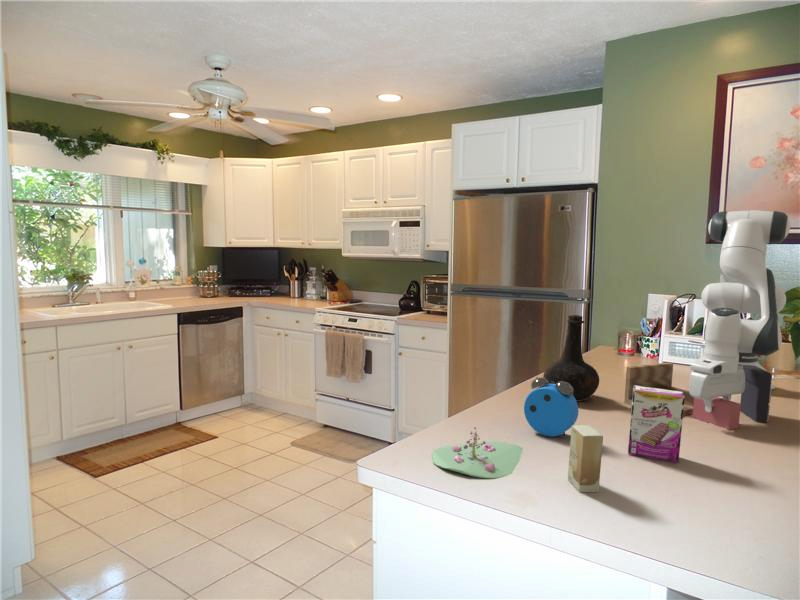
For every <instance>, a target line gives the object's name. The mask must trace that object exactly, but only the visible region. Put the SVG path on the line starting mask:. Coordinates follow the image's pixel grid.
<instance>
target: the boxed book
mask: <svg viewBox="0 0 800 600" xmlns="http://www.w3.org/2000/svg"><path fill="white" fill-rule="evenodd" d="M711 402H712V406H714V411H713V412H707V411H705V404H704V401H703V399H698V398H694V404H693V414H692V418H693V419H696V420H699V421H702V422H706V423H708V424H710V423H711V425H713V424H714V426H716V425H717V427H719V426H720V428H722V427H723V428H722V429H725V428H726V429H725V430H728V429H729V430H733V428H734V429H739V427H740V419H741V418H740V417H741V411H740V408H741V404H740V402H736V401H732V400H730V401H729V400H725V399H722V397H714V398H713V401H711Z"/></svg>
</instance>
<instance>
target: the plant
mask: <svg viewBox="0 0 800 600" xmlns="http://www.w3.org/2000/svg"><path fill="white" fill-rule="evenodd" d="M473 429H474V431H475V432H473V430H471V431H470V435H471V437H472V438H470V439H469V440H467V441H465V443H459V444H452V445H451V444H449V445H445V446H441V447H438V448H435V449H433V450H432V451H431V460H432V464H434V465H435V466H436V467H439V468H442V469H445V470H448V471H452V472H456V473H459V474H463V475H465V476H466V475H467V476H471V477H475V478H479V479H481V478H482V479H499V478H503V477H507V476H510V475H512V474H513V473H514V471H515V470H516V468H517V466H518V464H519V462H520V461H521V460H520V459H521V458H522V457H521V456H522V453H523V449H524V448H523V447H521V446H520V445H518V444H513V443H508V442H501V441H497V440H496V441H495V440H483V441H479V440H480V439H481V438H480V437H479V435H478V434H477V427H476V426H474V427H473ZM473 434H474V435H473ZM472 440H473V441H472Z"/></svg>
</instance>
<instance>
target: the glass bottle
mask: <svg viewBox="0 0 800 600" xmlns="http://www.w3.org/2000/svg"><path fill="white" fill-rule="evenodd" d="M567 317H568V319H567V321H566V322H568V323H567V331H566V337H565V343H564V347H563V351H562V354H561V356H560V358H559V359H558V360H556V361H553V362H551V363H550V364H549V365H547V367H546V368H545V370H544V373H543V376H542V377H543V378H546V379H547V380H548V382H549V383H547V384H556V383H558V382H560V381H565V382H567V383H569V384H570V385H571V386H572V387H573V390H574V392H573V396H574V398H575V399H576V402H580V401H581V402H582V401H584V400H587V399H589V398H590V397H591V396H593V395H594V393H596V391H597V389H598V388H599V385H600V376H599V373H598V372H597V370H596V368H594V367H593V366H592V365H591V364H588V363H586V362H585V360H584V357H583V348H582V342H583V341H582V330H583V328H582V326H583V325H582V324H585V320H583V315H582V316H581V315H578V314H573V315H572V314H571V315H568V316H567ZM550 381H553V382H554V383H551V382H550ZM545 385H546V384H545Z"/></svg>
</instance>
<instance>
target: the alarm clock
mask: <svg viewBox="0 0 800 600" xmlns="http://www.w3.org/2000/svg"><path fill="white" fill-rule="evenodd" d="M550 382H551V383H554V382H553V381H550ZM547 383H549V382H548V380H547V379H546V378H543V376H541V377H538V376H536V378H534V379H533V380H532V381H531V383H530V388H531V390H532V391H530V392H529V394H528V395H527V396H526V398H525V400H524V403H523V404H524V405H523V412H524V418H525V419H526V422H527V423H528V424H529V426H530V427H531V428H532V429H533V430H534V431H535V432H537V433H538V434H540V435H541V436H545V437H553V438H554V437H558V436H561V435H564V436H565V435H566V432H567V431H569V430H571V428H572V425H576V422H577V420H578V417H579V405H578V401H576V399H575V398H574V396H573V392H574V390H573V387H572V386H571V385H570V384H569V383H567V382H565V381H560V382H558V383H556V384H547ZM545 384H546V385H545Z"/></svg>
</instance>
